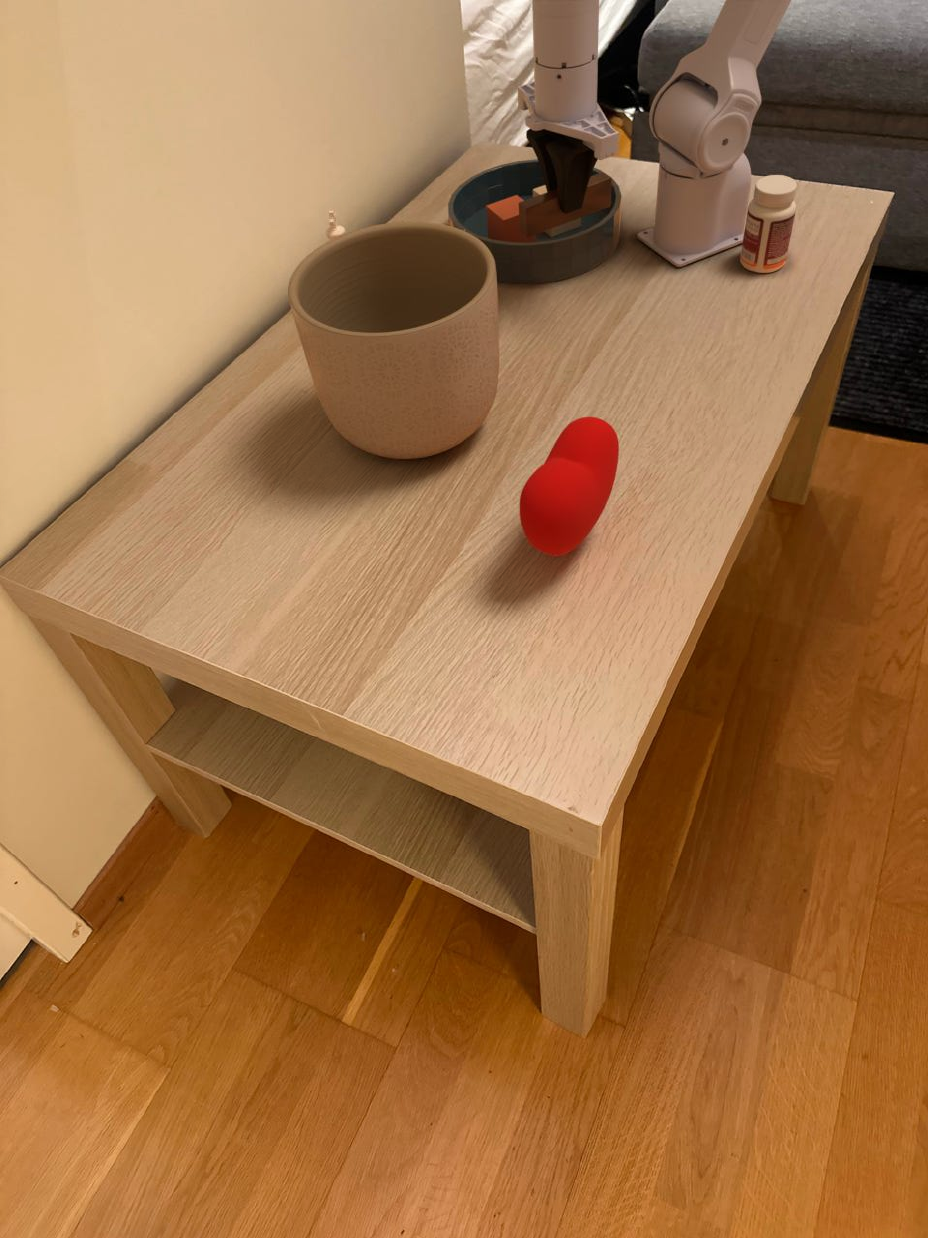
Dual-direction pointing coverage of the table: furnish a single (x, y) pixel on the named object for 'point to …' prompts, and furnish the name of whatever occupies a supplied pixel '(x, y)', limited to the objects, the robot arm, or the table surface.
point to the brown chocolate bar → (547, 210)
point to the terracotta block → (506, 221)
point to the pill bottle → (769, 224)
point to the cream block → (562, 227)
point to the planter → (400, 335)
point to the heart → (570, 487)
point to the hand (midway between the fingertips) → (565, 205)
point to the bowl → (547, 253)
